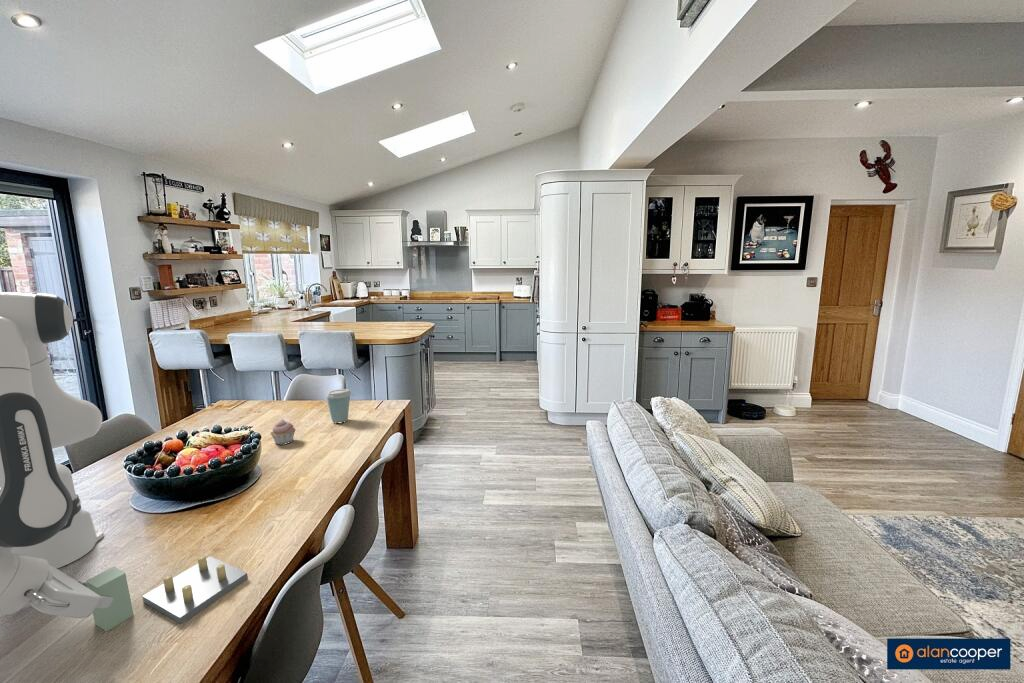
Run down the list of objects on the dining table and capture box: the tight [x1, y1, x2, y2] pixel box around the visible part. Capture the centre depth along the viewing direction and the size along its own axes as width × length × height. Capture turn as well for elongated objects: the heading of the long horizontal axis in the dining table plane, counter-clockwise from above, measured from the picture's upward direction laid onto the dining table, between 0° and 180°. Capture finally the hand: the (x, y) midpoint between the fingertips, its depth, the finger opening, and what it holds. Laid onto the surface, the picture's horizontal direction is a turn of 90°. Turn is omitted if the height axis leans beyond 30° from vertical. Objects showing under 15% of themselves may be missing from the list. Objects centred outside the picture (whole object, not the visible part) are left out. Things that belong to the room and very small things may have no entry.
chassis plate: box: [141, 555, 249, 625], centre depth 95 cm, size 14×14×4 cm
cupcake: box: [270, 418, 297, 445], centre depth 175 cm, size 9×9×10 cm
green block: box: [85, 566, 135, 632], centre depth 87 cm, size 4×4×10 cm
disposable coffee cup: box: [325, 388, 352, 424], centre depth 197 cm, size 11×11×15 cm
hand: (97, 594), depth 85 cm, fingers open, 8 cm apart
